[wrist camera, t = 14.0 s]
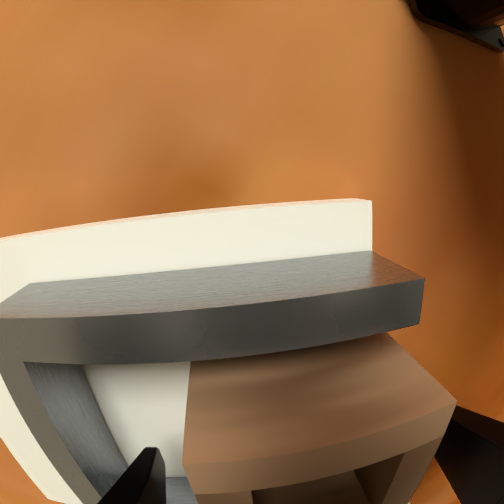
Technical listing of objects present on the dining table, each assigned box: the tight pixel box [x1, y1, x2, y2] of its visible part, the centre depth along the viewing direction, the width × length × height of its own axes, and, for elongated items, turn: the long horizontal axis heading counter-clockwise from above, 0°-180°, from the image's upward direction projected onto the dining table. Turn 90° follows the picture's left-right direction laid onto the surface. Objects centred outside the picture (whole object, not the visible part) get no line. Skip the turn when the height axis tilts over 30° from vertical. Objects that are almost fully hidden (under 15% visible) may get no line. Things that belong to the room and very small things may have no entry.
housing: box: [0, 250, 425, 504], centre depth 9 cm, size 11×11×3 cm
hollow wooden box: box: [182, 332, 457, 504], centre depth 8 cm, size 6×6×5 cm
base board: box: [0, 198, 372, 504], centre depth 9 cm, size 18×16×4 cm
